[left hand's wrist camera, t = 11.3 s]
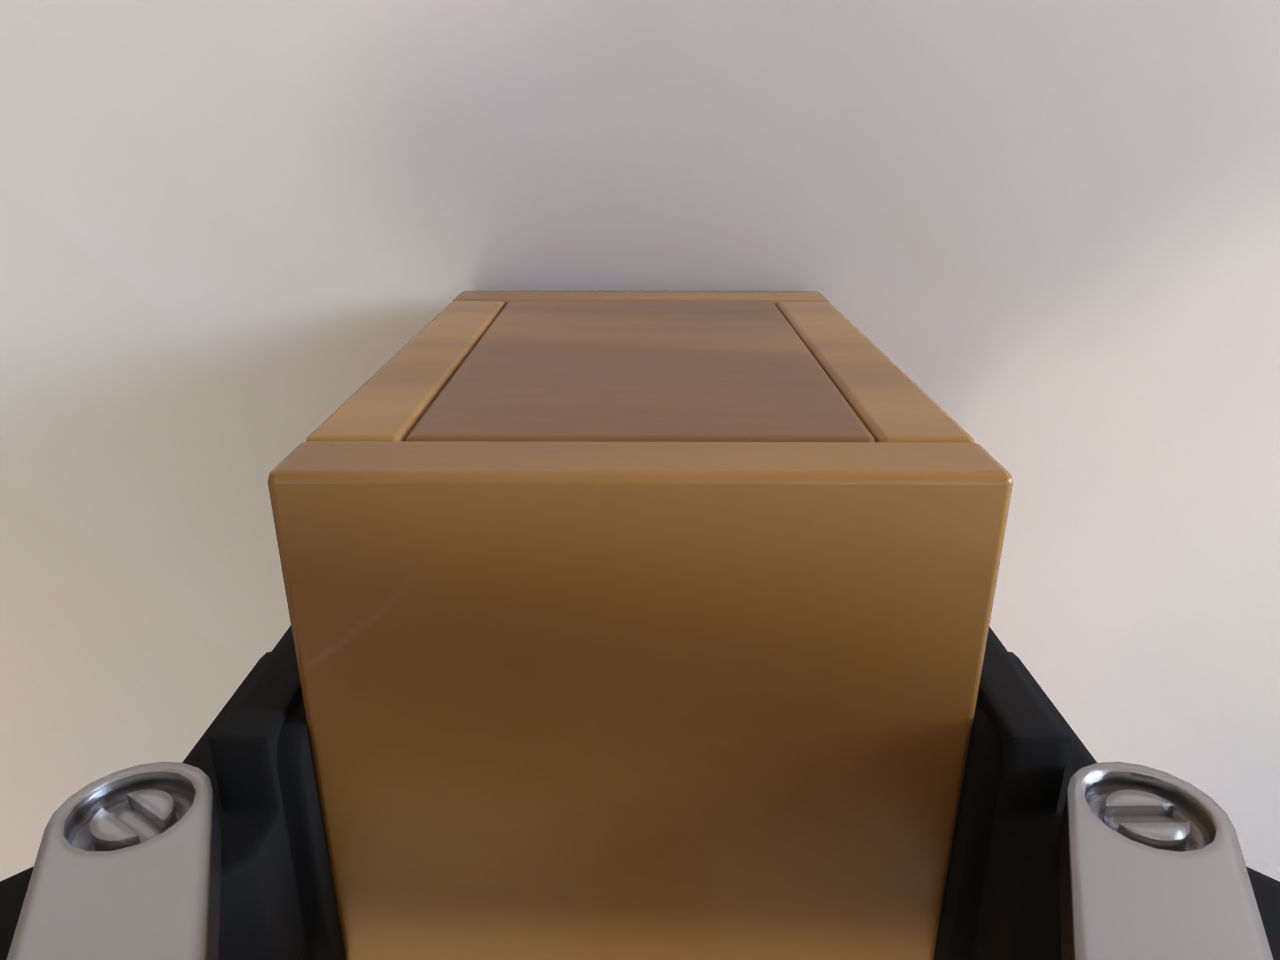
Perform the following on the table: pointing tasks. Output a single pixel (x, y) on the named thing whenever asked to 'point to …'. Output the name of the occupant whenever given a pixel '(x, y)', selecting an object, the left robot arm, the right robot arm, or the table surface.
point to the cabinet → (640, 633)
